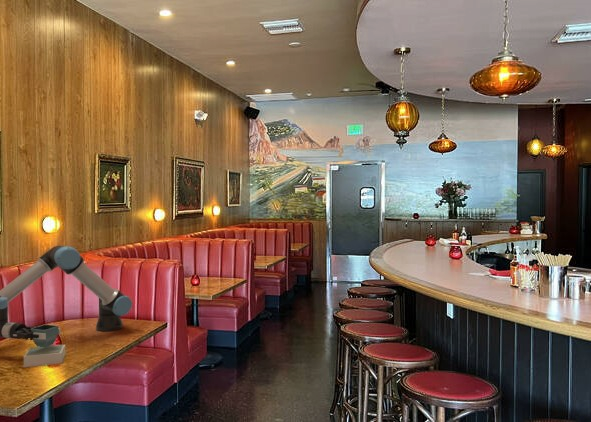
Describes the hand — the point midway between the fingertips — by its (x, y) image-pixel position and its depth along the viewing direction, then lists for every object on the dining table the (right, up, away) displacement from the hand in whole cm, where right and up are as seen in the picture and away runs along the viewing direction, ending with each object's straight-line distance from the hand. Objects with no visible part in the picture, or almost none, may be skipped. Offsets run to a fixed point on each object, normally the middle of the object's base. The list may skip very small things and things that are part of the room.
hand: (52, 333), depth 231 cm
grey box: (-4, -13, +2) cm, 14 cm away
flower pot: (-4, -6, +1) cm, 8 cm away
